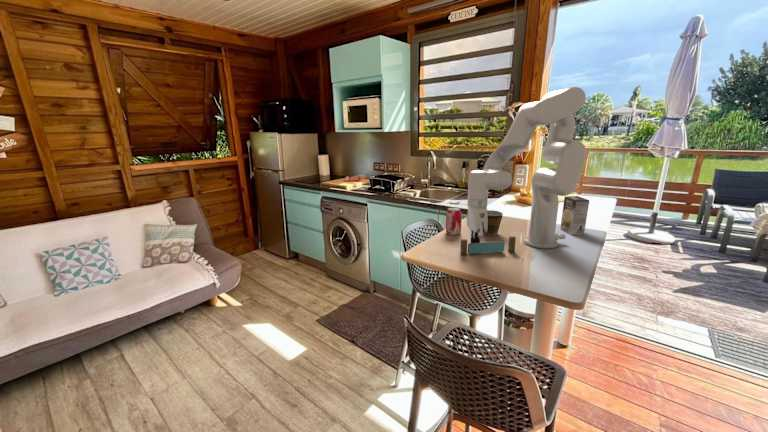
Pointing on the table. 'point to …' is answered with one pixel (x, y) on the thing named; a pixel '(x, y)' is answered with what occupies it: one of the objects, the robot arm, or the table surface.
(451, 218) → the soda can
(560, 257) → the table surface
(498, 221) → the ceramic cup
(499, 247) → the bar
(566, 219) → the coffee box
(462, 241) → the gate posts
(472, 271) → the table surface
